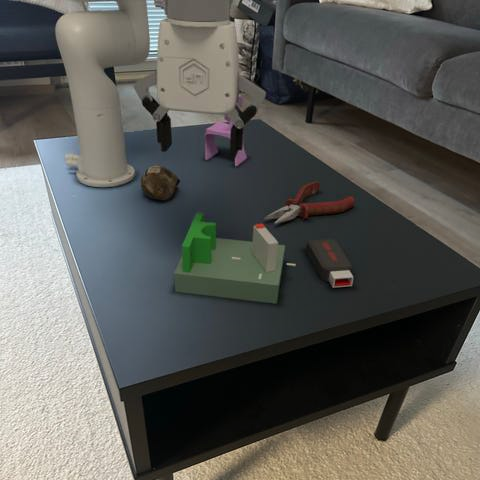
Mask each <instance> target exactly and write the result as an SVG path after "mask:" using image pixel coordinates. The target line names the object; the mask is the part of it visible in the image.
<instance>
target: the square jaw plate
mask: <svg viewBox="0 0 480 480" xmlns="http://www.w3.org/2000/svg"><path fill="white" fill-rule="evenodd" d="M252 242H253V243H252V254H253V255H254V256H255V258H256V259H257V260H258V262H259V263H260V264H261V266H262V267H263V268H264V270H265V271H266V272H270V271H275V270H276V261H277V250H278V245H279V241H278V240H277V239H276V238H275V237H274V236H273V234H272V233H271V232H270V231H269V230H268V229H267V227H266V226H265V225H264V223H256V224H254V225H253V228H252Z"/></svg>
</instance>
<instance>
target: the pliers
mask: <svg viewBox="0 0 480 480" xmlns="http://www.w3.org/2000/svg"><path fill="white" fill-rule="evenodd" d="M319 190H320V182H319V181H312V182H310V183H307V184H305V185H302V186H301V187H300V188H299V189H298V192H297V193H296V195H295V197H294V198H288V199H287V200H286V201H285V204H284V206H282V207H280V208H278V209H277V210H275V211H274V212H272V213H270V214H268V215H266V216H265V217H263V220H264V221H265V220H273V219H277V220H276V221H274V223H273V225H278V224H280V223H285V222H288V221H292V220H294V219H295V218H296V217H298V218H302V219H303V220H308V219H309V216H323V215H334V214H335V215H336V214H340V213H344V212H346V211H348V210H350V209H352V208H353V207H354V206H355V202H356V200H355V198H354V196H351V195H349V196H347V197H345V198H343V199H341V200H340V199H339V200H335V201H324V202H323V201H322V202H308V203H307V202H303V201H304V200H305V199H306V198H307V197H309V196H312V195H315V194H316V193H318V192H319Z"/></svg>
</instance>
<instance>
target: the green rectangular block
mask: <svg viewBox="0 0 480 480" xmlns="http://www.w3.org/2000/svg"><path fill="white" fill-rule="evenodd" d="M252 243H253V241H249V240H239V239H229V238H221V237H216V248H215V250H211V263H210V264H204V263H193V266H192V269H191V271H190V273H188V272H183V265H182V257H181V258H180V260H179V262H178V263H177V266H176V268H175V270H174V273H173V278H174V292H175V293H181V294H189V295H199V296H207V297H217V298H224V299H233V300H241V301H248V302H249V301H250V302H258V303H266V304H275V305H277V304H278V299H279V294H280V286H281V282H282V281H281V280H282V275H283V268H284V260H285V251H286V245H285V244H278V250H277V261H276V270H275V271H270V272H266V271H265V270H264V268H263V267H262V266H261V264H260V263H259V262H258V260H257V259H256V258H255V256H254V255H253V254H252ZM296 265H297V264H296V263H288V262H287V263H286V266H291V267H296Z"/></svg>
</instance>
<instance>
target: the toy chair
mask: <svg viewBox="0 0 480 480" xmlns="http://www.w3.org/2000/svg"><path fill="white" fill-rule="evenodd" d="M237 104H238V105H239V107H240V108H241V109H242V105H243V96H242V95H241V94H239V98H238V102H237ZM224 120H225V121H226V122H228V123H226V122H221V121H217V122H216V123H214V124H213V125H212V126H209V127H207V128H205V134H204V148H205V149H204V153H205V154H204V155H205V159H204V160H205V161H208V160H209V159H211V158H212V157H214V156H215V155H217V154H218V153H219V149H218V147H217V145H216V136H221V137H224V138H227V139H229V140H230V133H231V128H232V126H233V123H232V121H231V120H230V119H229V117H228V116H227V114H224ZM244 135H245V134H244V132H243V139H244ZM247 158H248V157H247V154H246V151H245V147H244V144H243V147H242V150H238V153H237V155H236V157H235V158H234V166H235V167H238V166H239V165H240V164H241V163H243V162H244V161H246V160H247Z"/></svg>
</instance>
